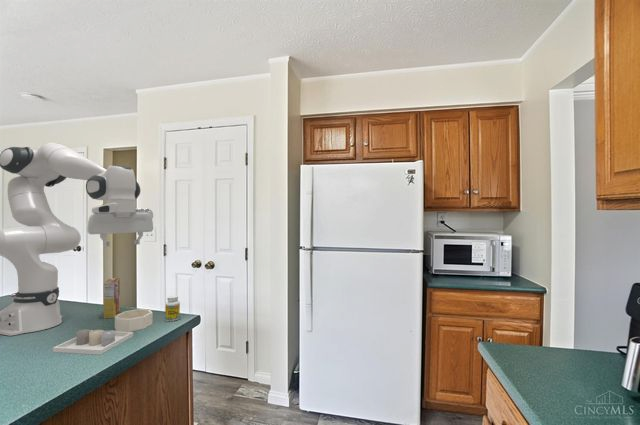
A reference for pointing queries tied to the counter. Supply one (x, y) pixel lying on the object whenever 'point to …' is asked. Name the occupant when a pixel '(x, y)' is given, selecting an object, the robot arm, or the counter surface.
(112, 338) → the grey rounded lump
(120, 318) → the bowl
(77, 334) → the pebble
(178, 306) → the supplement bottle
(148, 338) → the counter surface
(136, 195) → the robot arm
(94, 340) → the pebble
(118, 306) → the candy box
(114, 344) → the tray
